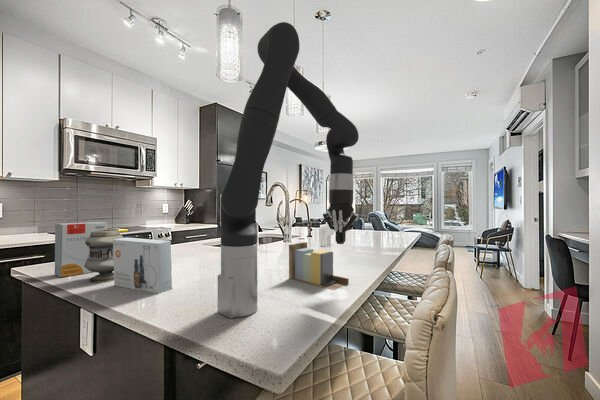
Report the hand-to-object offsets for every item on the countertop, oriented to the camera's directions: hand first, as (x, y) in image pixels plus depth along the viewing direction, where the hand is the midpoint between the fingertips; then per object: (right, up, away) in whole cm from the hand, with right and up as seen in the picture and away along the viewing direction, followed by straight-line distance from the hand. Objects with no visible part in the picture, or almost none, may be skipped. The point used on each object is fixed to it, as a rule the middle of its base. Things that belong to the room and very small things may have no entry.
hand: (340, 243), depth 89 cm
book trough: (-7, -15, +6) cm, 17 cm away
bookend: (-4, -14, +4) cm, 15 cm away
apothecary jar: (-84, -15, +15) cm, 87 cm away
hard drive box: (-100, -16, +24) cm, 104 cm away
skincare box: (-65, -15, +4) cm, 66 cm away
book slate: (-11, -14, +10) cm, 20 cm away
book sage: (-8, -14, +8) cm, 18 cm away
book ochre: (-6, -14, +5) cm, 16 cm away
